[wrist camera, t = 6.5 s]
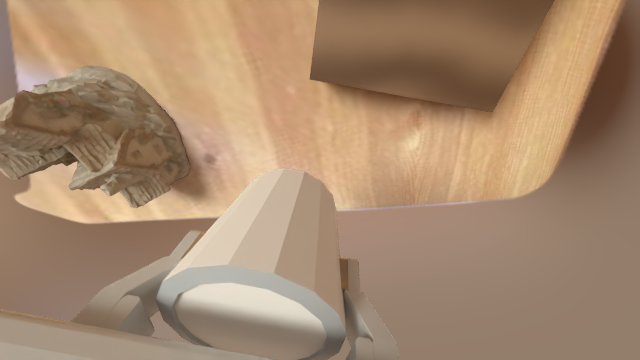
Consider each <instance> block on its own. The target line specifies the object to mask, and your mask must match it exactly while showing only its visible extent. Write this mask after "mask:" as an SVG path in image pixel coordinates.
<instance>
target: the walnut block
mask: <svg viewBox="0 0 640 360" xmlns="http://www.w3.org/2000/svg"><path fill="white" fill-rule="evenodd" d="M553 1H554V0H319V6H318V15H317V23H316V31H315V40H314V48H313V56H312V65H311V73H310V79H311V80H316V81H322V82H327V83H333V84H338V85H344V86H349V87H355V88H360V89H366V90H371V91H377V92H382V93H388V94H393V95H399V96H405V97H410V98H416V99H421V100H427V101H432V102H438V103H443V104H449V105H454V106H460V107H465V108H471V109H476V110H482V111H487V112H493V110H494V108H495V107H496V105H497V103H498V101H499V99H500V97H501V96H502V94H503V92H504V90H505V88H506V87H507V85H508V83H509V81H510V79H511V78H512V76H513V74H514V72H515V70H516V68H517V67H518V65H519V63H520V61H521V59H522V58H523V56H524V54H525V52H526V50H527V48H528V47H529V45H530V43H531V41H532V39H533V38H534V36H535V34H536V32H537V30H538V29H539V27H540V25H541V23H542V21H543V19H544V18H545V16H546V14H547V12H548V10H549V9H550V7H551V5H552V3H553Z"/></svg>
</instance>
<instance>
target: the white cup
mask: <svg viewBox="0 0 640 360" xmlns="http://www.w3.org/2000/svg"><path fill="white" fill-rule="evenodd" d="M339 257H340V250H339V239H338V227H337V213H336V207H335V203H334V199H333V195H332V194H331V193H330V191H329V190H328V189H327V188H326V186H325V185H324V184H323V183H322V182H321V181H320V180H318V179H316V178H315V177H313V176H311V175H309V174H308V173H306V172H303V171H298V170H293V169H287V168H282V169H276V170H270V171H266V172H265V173H263V174H261V175H260V176H258V177H257V178H255V179H254V180H253V181H252V182H251V183H250V184H249V185H248V186H247V187H246V188H245V190H244V191H243V192H242V193H241V194H240V195H239V196H238V197H237V198H236V200H235V201H234V202H233V203H232V204H231V205H230V206H229V207H228V209H227V210H226V211H225V212H224V213H223V214H222V215H221V216H220V218H219V219H218V220H217V221H216V222H215V223H214V224H213V225H212V226H211V228H210V229H209V230H208V231H207V232H206V233H205V234H204V235H203V237H202V238H201V239H200V240H199V241H198V242H197V243H196V244H195V245H194V247H193V248H192V249H191V250H190V251H189V252H188V253H187V254H186V256H185V257H184V258H183V259H182V260H181V261H180V262H179V263H178V264H177V266H176V267H175V268H174V269H173V270H172V271H171V272H170V273H169V275H168V276H167V277H166V278H165V279H164V280H163V281H162V284H161V286H160V289H159V292H158V294H157V297H156V303H157V305H158V308H159V310H160V312H161V315H162V317H163V320H164V321H165V322H166V323H167V324H168V325H169V326H170V327H172V328H173V329H174V330H175V331H176V332H177V333H178V334H179V335H180V336H181V337H182V338H184V339H186V340H188V341H189V342H191V343H193V344H194V345H200V346H205V347H211V348H216V349H222V350H227V351H233V352H238V353H244V354H249V355H255V356H260V357H266V358H271V359H276V360H327V359H329V358H330V357H332V356H334V355H335V354H337V353H339V351H340V349H341V347H342V344H343V342H344V340H345V338H346V324H345V311H344V299H343V291H342V288H341V276H340V263H339Z"/></svg>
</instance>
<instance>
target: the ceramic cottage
mask: <svg viewBox="0 0 640 360" xmlns="http://www.w3.org/2000/svg"><path fill="white" fill-rule="evenodd" d="M33 89H34V90H33V91H31V92H29V91H25V90H23V91H21V92H19V93H17V94H16V95H15V97H13V98H11V99H9V100H8V101H6V102H5V103H3V104H0V171H1V172H2V173H3V174H5V175H6V176H7V177H9V178H10V179H11V180H15V179H20V178H21V177H24V176H26V175H28V174H32V173H35V172H38V171H43V170H45V169H46V168H48V167H50V166H52V165H57V164H60V163H63V164H64V165H66V166H68V165H70V164H72V163H74V162H76V161H78V163H77V169H76V171H75V173H74V175H73V178H72V182H71V183H70V185H69V188H70V189H71V190H75V189H80V190H83V189H93V190H94V189H96V188H100V189H101V190H102V191H104V192H105V193H106V195H107V196H112V195H114V194H116V193H117V192H120V193H121V194H122V195H123V196H124V197H125V198H126V199H127V201H128V202H129V204H130V206H131V207H134V208H138V207H139V206H143V205H145V204H146V203H148V202H149V201H151V200H153V199H155V198H157V197H158V196H160V195H162V194H164V193H166V192H167V191H169V190H170V185H171V184H172V183H173V181H176V180H178V179H181V178H183V177H185V176H186V175H188V173H189V171H190V168H189V167H190V164H189V163H188V159H187V158H186V156H187V155H186V152H185V148H184V147H183V144H182V141H181V137H180V136H179V132H178V130H177V129H176V126H175V124H174V122H173V121H172V119H171V118H170V117H169V116H168V114H167V113H166V112H165V110H163V109H162V108H161V107H160V105H158V104H157V102H156V101H155V100H154V99H153V97H152V96H151V95H150V94H149V93H148V92H147V91H146V90H145V89H142V87H141V86H139V84H138V83H137V82H136V81H134V80H133V79H131V78H130V77H128V76H127V75H125V74H122V73H120V72H117V71H115V70H112V69H108V68H104V67H99V66H86V67H82V68H78V69H77V70H75V71H72V72H71V73H70V74H69V75H68V76H66V77H63V78H60V79H56V80H50V81H49V82H48V83H47V84H41V85H33Z"/></svg>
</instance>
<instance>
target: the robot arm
mask: <svg viewBox="0 0 640 360" xmlns="http://www.w3.org/2000/svg"><path fill="white" fill-rule="evenodd" d="M205 233H206V232H203V231H198V230H191V231H189V232H188V234H187V235H186V236H185V237H184V239H183V240H182V241H181V242H180V243H179V245H178V246H177V247H176V249H175V250H174V251H173V252H172V253H171V255H170V256H169V257H167V256H165V257H163V258H161V259H159V260H157V261H155V262H153V263H152V264H150V265H148V266H146V267H144V268H142V269H140V270H138V271H136V272H134V273H132V274H130V275H128V276H126V277H124V278H122V279H120V280H119V281H117V282H115V283H113V284H111V285H109V286H107V287H105V288H103V289H102V290H101V291H100V292H99V293H98V294H97V295H96V296H95V297H94V298H93V299H92V300H91V301H90V302H89V303H88V304H87V305H86V306H85V307H84V309H82V310H81V311H80V313H79V314H78V315H77V316H76V317H75V318H74V319H73V320H72V321H71V322H68V321H63V320H57V319H51V318H46V317H41V316H35V315H30V314H24V313H19V312H13V311H8V310H2V309H0V360H276V359H271V358H266V357H260V356H255V355H249V354H244V353H238V352H233V351H227V350H222V349H216V348H211V347H205V346H200V345H194V344H188V343H183V342H178V341H172V340H167V339H161V338H156V337H151V335H152V334H153V332H154V327H153V325H152V322H151V321H150V317H151V316H153V315H154V314H155V313H157V312H158V311H159V308H158V305H157V303H156V297H157V294H158V292H159V289H160V286H161V284H162V281H163V280H164V279H165V278H166V277H167V276H168V275H169V273H170V272H171V271H172V270H173V269H174V268H175V267H176V266H177V264H178V263H179V262H180V261H181V260H182V259H183V258H184V257H185V256H186V254H187V253H188V252H189V251H190V250H191V249H192V248H193V247H194V245H195V244H196V243H197V242H198V241H199V240H200V239H201V238H202V237H203V235H204V234H205ZM339 263H340V276H341V288H342V291H343V299H344V311H345V324H346V337H347V339H348V341H349V343H350V346H351V348H352V349H351V350H350V352H349V354H348V356H347V358H346V360H399V356H398V350H397V344H396V342H395V340H394V339H393V337H392V336H391V334H390V333H389V331H388V330H387V328H386V326H385V325H384V323H383V322H382V320H381V319H380V317H379V316H378V314H377V312H376V311H375V309H374V308H373V306H372V305H371V303H370V302H369V300H368V299H367V297H366V296H365V294H364V293H363V292H360V280H359V262H358V260H355V259H350V258H345V257H339Z"/></svg>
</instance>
